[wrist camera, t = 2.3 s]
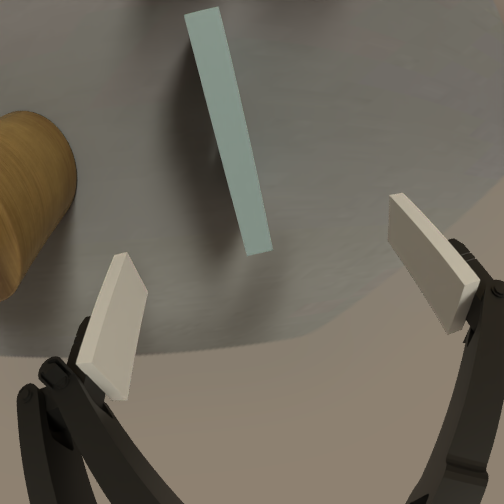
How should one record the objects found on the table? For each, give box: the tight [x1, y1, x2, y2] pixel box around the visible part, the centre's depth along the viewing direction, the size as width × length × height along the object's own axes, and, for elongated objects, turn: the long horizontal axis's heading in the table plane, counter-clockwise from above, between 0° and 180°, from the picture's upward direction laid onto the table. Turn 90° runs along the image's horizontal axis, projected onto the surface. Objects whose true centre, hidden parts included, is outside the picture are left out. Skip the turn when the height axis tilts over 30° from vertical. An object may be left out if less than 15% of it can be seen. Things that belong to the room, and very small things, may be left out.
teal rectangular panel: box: [184, 7, 273, 256], centre depth 19 cm, size 2×14×8 cm, turn 11°
